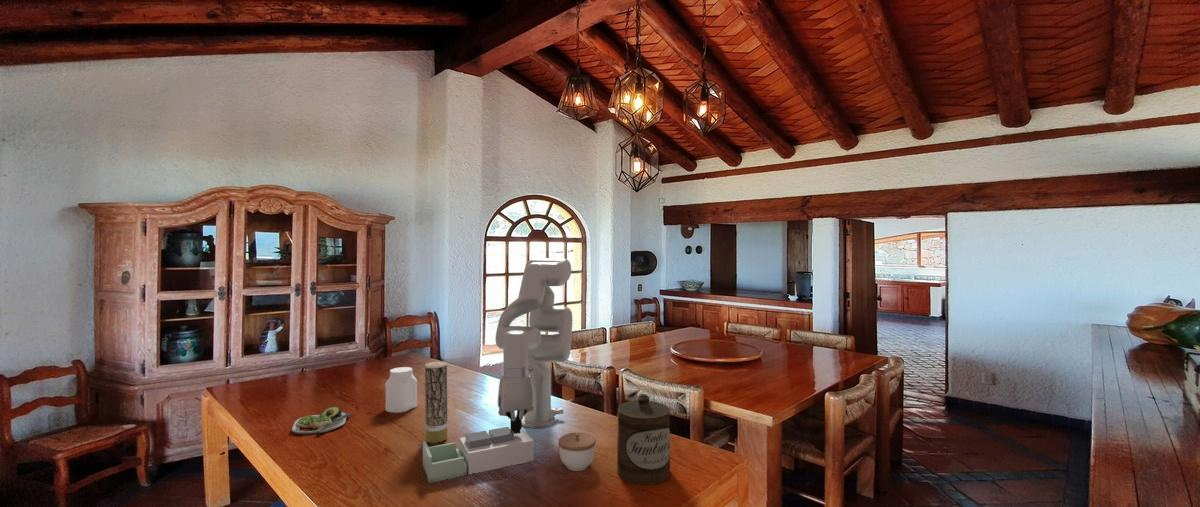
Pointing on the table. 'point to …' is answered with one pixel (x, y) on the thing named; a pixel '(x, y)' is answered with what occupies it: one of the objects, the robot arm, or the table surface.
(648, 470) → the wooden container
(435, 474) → the box
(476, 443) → the slate tile front
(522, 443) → the white rectangular block
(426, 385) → the bark-textured canister
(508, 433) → the slate tile back
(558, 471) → the table surface
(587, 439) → the lidded jar
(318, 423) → the avocado toast plate
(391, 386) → the jar
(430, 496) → the table surface
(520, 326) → the robot arm
